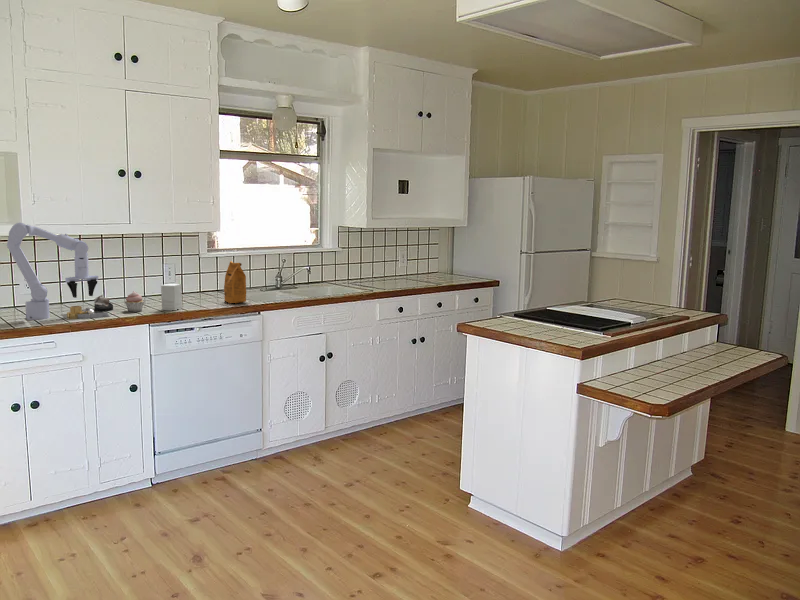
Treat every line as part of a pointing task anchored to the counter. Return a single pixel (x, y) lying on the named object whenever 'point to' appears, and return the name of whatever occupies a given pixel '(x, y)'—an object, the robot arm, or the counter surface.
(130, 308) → the cupcake
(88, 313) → the carrier
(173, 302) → the supplement box
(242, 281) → the coffee package
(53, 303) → the counter surface
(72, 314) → the planet gear
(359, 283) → the counter surface
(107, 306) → the caster wheel
